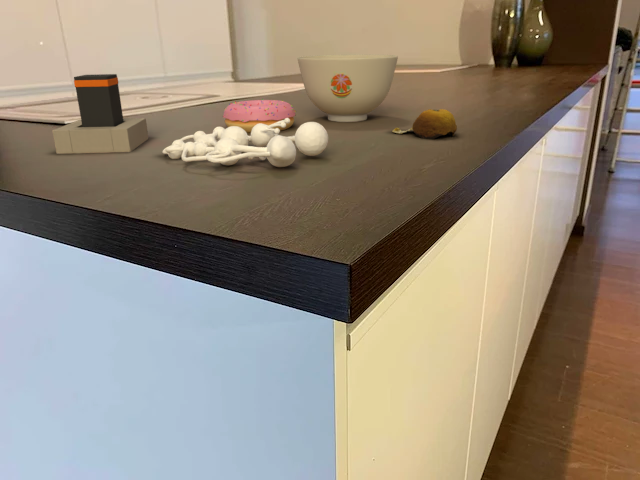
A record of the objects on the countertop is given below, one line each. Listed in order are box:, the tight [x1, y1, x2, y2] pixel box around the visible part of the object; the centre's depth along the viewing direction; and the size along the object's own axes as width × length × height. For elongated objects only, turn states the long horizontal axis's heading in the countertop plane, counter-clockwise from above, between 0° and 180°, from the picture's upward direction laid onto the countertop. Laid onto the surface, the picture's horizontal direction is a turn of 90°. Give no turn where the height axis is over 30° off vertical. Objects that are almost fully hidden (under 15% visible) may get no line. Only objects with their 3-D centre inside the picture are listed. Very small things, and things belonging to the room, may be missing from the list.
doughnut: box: [222, 98, 297, 134], centre depth 81 cm, size 11×11×4 cm
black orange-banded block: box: [73, 73, 124, 127], centre depth 69 cm, size 4×4×9 cm
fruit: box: [391, 108, 458, 140], centre depth 74 cm, size 8×8×4 cm
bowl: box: [297, 54, 399, 123], centre depth 88 cm, size 16×16×10 cm
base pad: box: [52, 117, 149, 155], centre depth 70 cm, size 9×9×3 cm
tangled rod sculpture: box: [161, 118, 329, 168], centre depth 61 cm, size 19×14×4 cm
